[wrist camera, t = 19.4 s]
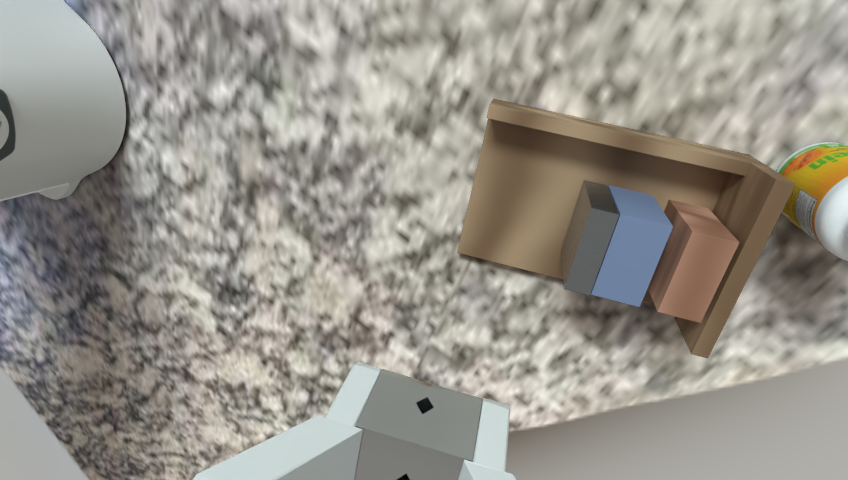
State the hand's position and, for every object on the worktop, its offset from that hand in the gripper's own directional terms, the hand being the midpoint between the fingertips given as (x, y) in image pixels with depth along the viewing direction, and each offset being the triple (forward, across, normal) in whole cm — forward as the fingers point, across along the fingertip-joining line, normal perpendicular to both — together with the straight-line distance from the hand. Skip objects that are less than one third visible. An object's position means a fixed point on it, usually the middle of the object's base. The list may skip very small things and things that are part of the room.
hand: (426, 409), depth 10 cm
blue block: (+28, -9, +5) cm, 30 cm away
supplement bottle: (+29, -20, -1) cm, 35 cm away
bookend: (+28, -7, +5) cm, 29 cm away
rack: (+29, -7, +4) cm, 30 cm away
